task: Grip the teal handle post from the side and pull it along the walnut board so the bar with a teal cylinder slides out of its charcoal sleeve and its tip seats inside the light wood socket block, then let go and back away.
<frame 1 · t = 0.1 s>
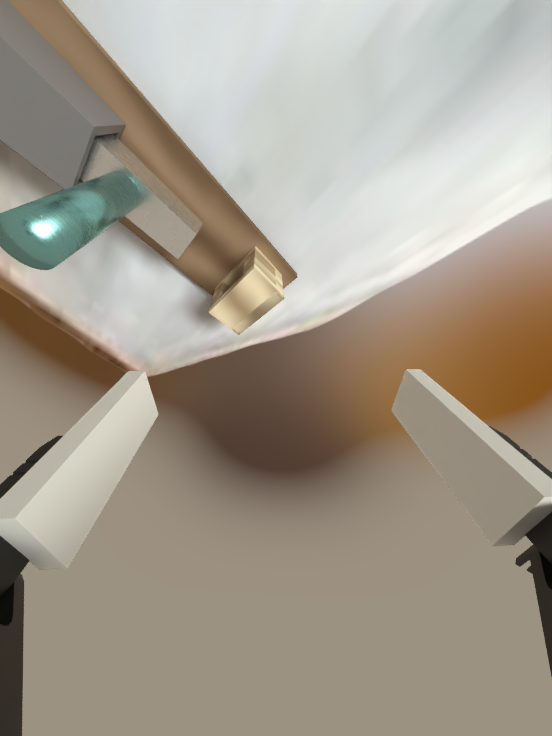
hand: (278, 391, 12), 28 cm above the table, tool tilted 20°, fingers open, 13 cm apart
base board: (145, 179, 26), on the table
socket block: (247, 276, 35), resting on base board
bar with teal cylinder: (21, 141, 16), point 11 cm above the table, slide at 0.0 cm
outer sleeve: (22, 61, 20), resting on base board
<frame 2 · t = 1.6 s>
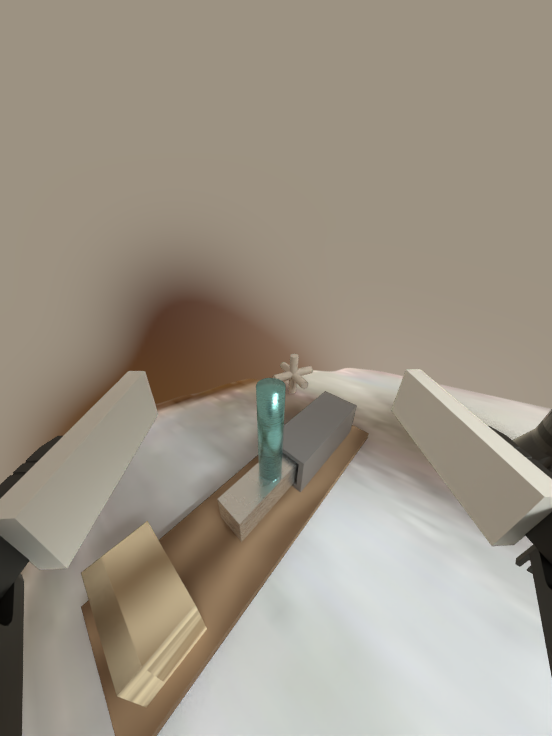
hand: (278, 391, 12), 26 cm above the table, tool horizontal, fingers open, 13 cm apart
base board: (270, 497, 33), on the table
pipe connector: (292, 392, 56), on the table
socket block: (161, 615, 23), resting on base board
bar with teal cylinder: (295, 423, 31), point 11 cm above the table, slide at 0.0 cm
outer sleeve: (312, 452, 40), resting on base board
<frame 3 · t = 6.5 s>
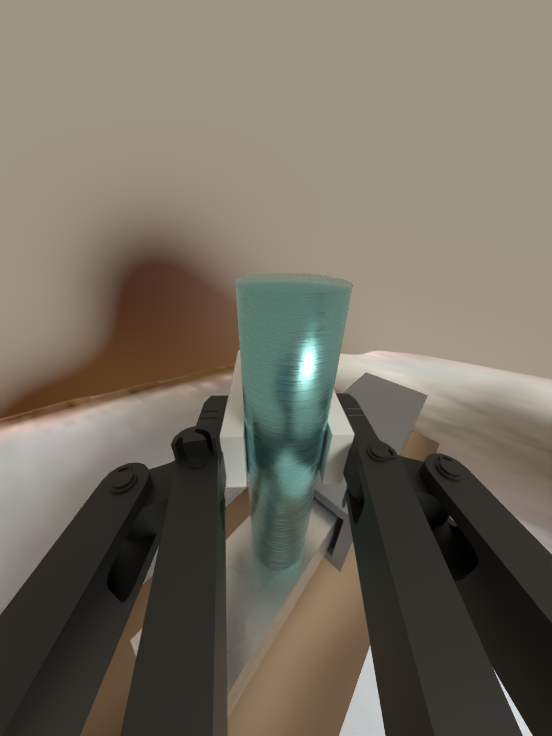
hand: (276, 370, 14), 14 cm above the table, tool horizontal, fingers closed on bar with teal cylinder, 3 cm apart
base board: (275, 580, 16), on the table
bar with teal cylinder: (335, 426, 14), point 11 cm above the table, slide at 0.0 cm, touching gripper
outer sleeve: (347, 476, 23), resting on base board
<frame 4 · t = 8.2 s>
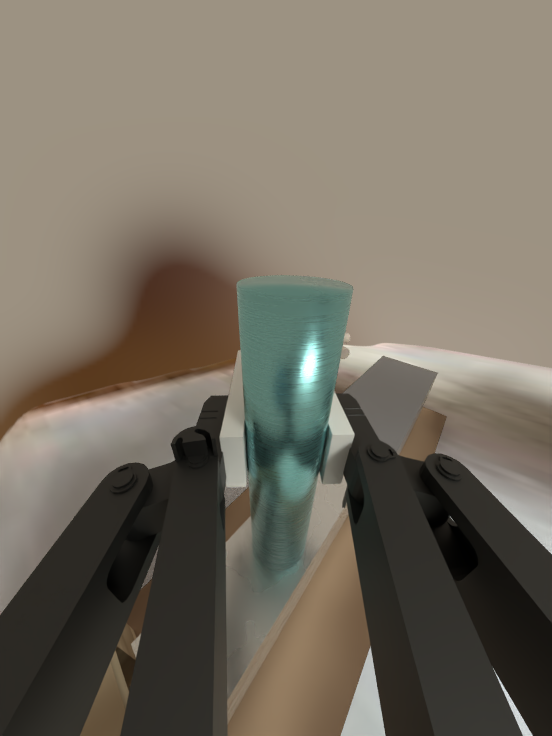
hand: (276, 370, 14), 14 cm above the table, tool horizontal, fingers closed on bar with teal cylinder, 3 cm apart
base board: (321, 513, 20), on the table
bar with teal cylinder: (335, 427, 14), point 11 cm above the table, slide at 6.1 cm, touching gripper
outer sleeve: (370, 442, 27), resting on base board
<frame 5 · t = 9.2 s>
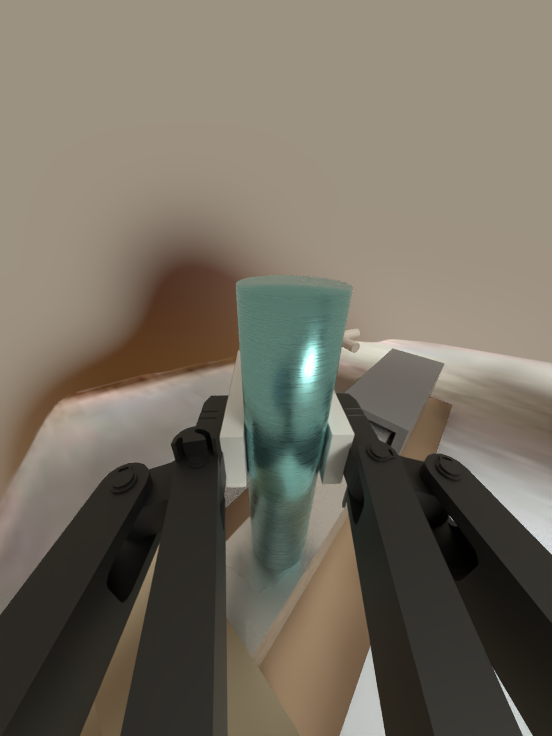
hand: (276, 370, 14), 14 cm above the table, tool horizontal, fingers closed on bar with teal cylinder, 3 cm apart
base board: (340, 486, 22), on the table
pipe connector: (332, 361, 45), on the table
socket block: (192, 703, 12), resting on base board
bar with teal cylinder: (335, 427, 14), point 11 cm above the table, slide at 9.5 cm, touching gripper
outer sleeve: (381, 427, 29), resting on base board
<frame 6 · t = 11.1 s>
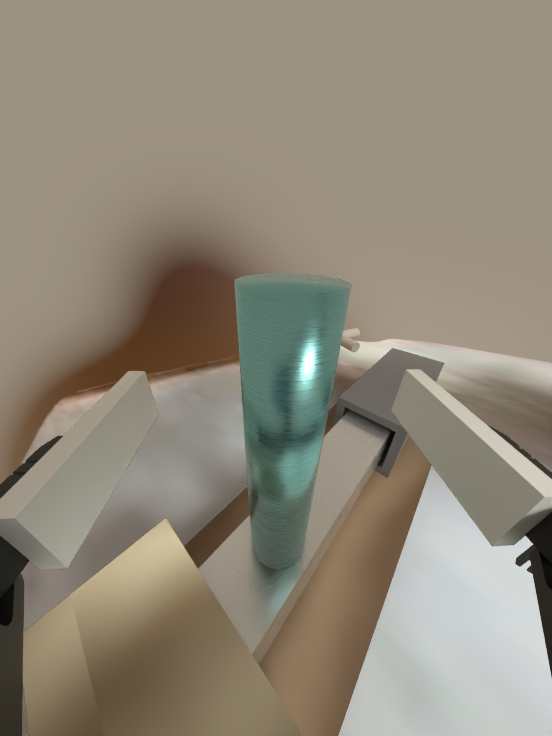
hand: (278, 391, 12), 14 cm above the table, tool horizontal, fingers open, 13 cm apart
base board: (340, 486, 22), on the table
pipe connector: (332, 361, 45), on the table
socket block: (192, 700, 12), resting on base board
bar with teal cylinder: (335, 426, 14), point 11 cm above the table, slide at 9.5 cm
outer sleeve: (381, 426, 29), resting on base board
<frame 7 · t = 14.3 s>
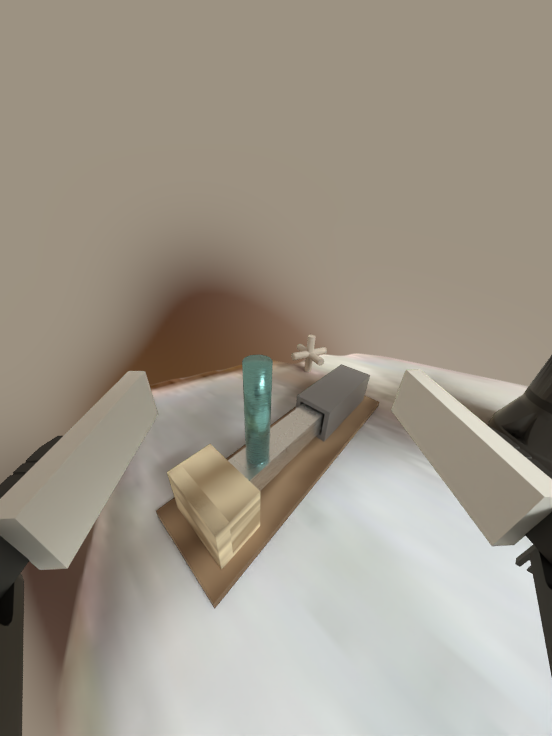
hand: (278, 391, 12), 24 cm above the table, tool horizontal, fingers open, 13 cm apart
base board: (297, 446, 39), on the table
pipe connector: (307, 371, 62), on the table
socket block: (220, 520, 28), resting on base board
bar with teal cylinder: (284, 407, 30), point 11 cm above the table, slide at 9.5 cm
outer sleeve: (330, 415, 46), resting on base board
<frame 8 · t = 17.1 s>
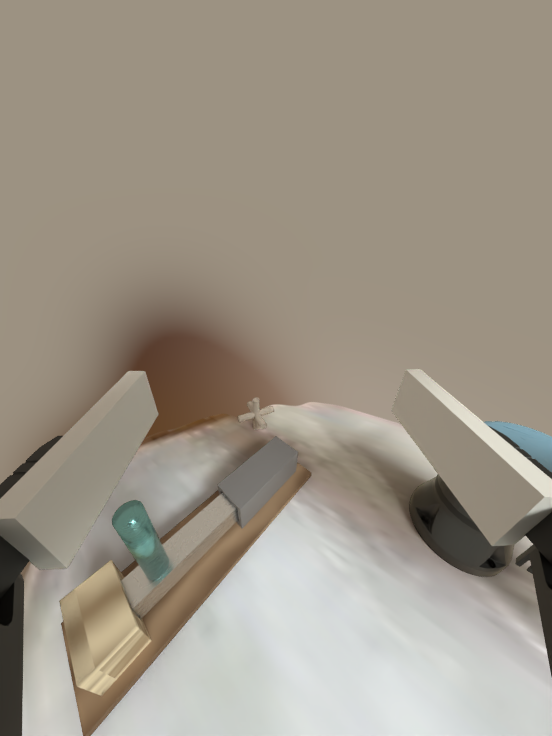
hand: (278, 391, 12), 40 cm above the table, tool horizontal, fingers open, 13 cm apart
base board: (218, 532, 41), on the table
pipe connector: (256, 428, 64), on the table
socket block: (120, 629, 31), resting on base board
bar with teal cylinder: (184, 519, 33), point 11 cm above the table, slide at 9.5 cm
outer sleeve: (261, 489, 48), resting on base board
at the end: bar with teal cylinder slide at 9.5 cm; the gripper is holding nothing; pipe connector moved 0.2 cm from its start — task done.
